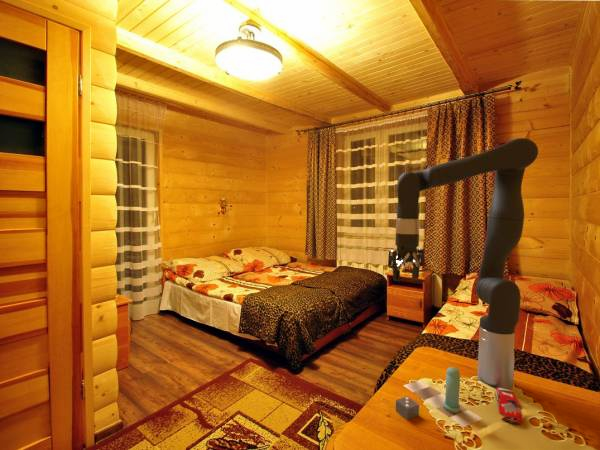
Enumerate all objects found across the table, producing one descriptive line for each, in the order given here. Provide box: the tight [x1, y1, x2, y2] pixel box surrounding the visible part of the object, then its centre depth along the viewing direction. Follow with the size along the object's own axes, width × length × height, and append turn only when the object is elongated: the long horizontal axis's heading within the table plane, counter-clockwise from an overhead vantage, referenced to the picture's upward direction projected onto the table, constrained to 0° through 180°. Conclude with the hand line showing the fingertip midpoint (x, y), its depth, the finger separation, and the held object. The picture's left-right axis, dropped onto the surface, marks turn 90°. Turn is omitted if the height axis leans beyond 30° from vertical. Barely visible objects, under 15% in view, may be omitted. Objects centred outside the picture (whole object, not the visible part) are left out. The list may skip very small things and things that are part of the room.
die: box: [395, 395, 420, 421], centre depth 80 cm, size 4×4×4 cm
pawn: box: [443, 366, 461, 415], centre depth 81 cm, size 4×4×11 cm
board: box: [403, 379, 483, 428], centre depth 85 cm, size 8×20×1 cm, turn 27°
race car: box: [494, 388, 524, 425], centre depth 83 cm, size 13×5×4 cm, turn 152°
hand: (406, 279), depth 105 cm, fingers open, 8 cm apart
